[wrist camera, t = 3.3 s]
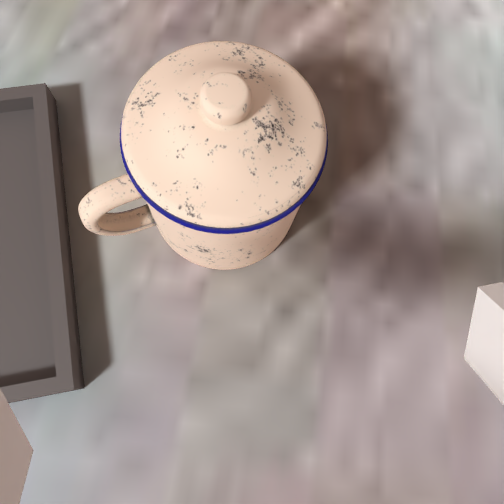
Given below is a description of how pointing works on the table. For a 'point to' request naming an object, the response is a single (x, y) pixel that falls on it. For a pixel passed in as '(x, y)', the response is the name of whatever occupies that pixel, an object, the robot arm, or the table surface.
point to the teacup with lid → (215, 154)
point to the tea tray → (35, 252)
